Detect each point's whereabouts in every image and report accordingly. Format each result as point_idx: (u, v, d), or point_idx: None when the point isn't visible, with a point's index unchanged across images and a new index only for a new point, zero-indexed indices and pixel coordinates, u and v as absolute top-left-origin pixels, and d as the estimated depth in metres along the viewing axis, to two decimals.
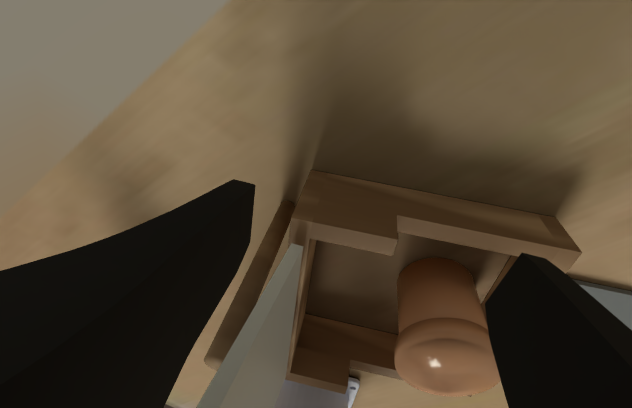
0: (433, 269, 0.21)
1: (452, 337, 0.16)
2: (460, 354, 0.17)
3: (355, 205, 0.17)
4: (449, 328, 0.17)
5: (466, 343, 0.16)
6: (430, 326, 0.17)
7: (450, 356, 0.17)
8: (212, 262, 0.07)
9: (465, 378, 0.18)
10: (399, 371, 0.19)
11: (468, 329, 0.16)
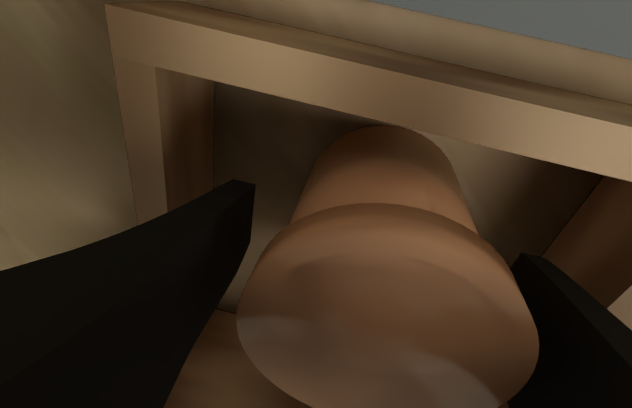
0: None
1: (251, 336, 0.07)
2: (310, 328, 0.06)
3: None
4: None
5: (264, 317, 0.06)
6: None
7: (323, 345, 0.07)
8: (212, 262, 0.07)
9: (427, 324, 0.06)
10: None
11: None
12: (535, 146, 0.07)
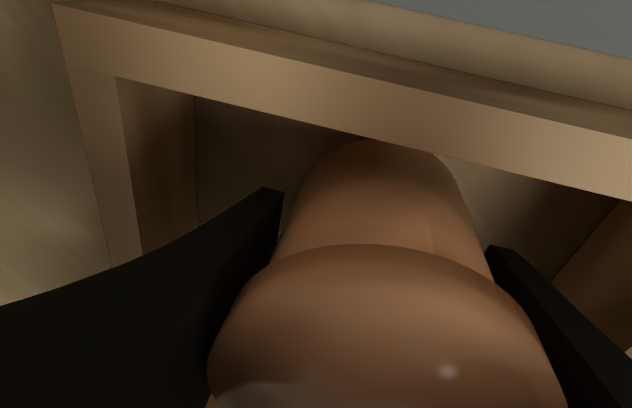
0: None
1: (226, 392, 0.06)
2: (293, 388, 0.05)
3: None
4: None
5: (238, 374, 0.05)
6: None
7: (309, 405, 0.06)
8: (247, 271, 0.07)
9: (432, 390, 0.05)
10: None
11: None
12: (557, 169, 0.06)
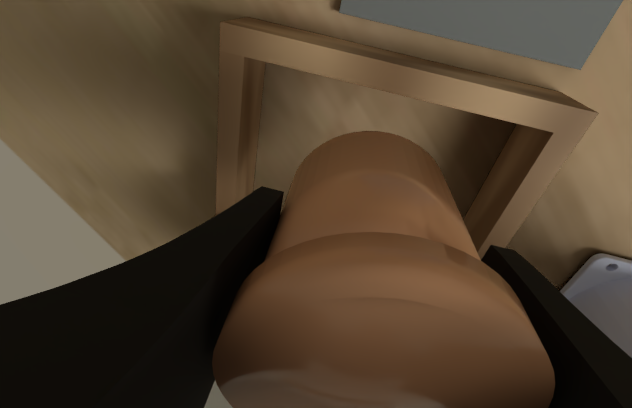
0: None
1: (231, 383, 0.06)
2: (298, 374, 0.06)
3: None
4: None
5: (244, 364, 0.06)
6: None
7: (314, 390, 0.06)
8: (246, 271, 0.07)
9: (430, 367, 0.05)
10: None
11: None
12: (455, 101, 0.12)
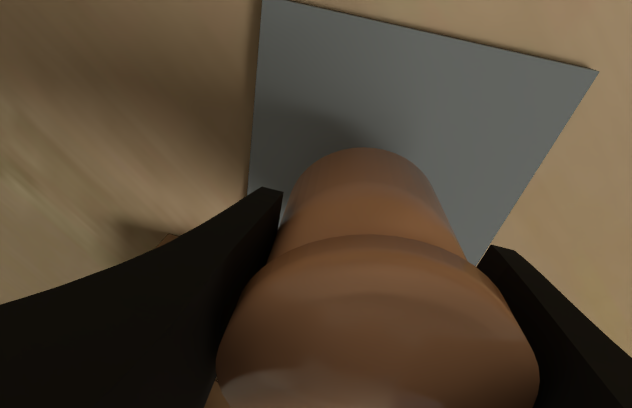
0: None
1: (232, 381, 0.06)
2: (299, 371, 0.06)
3: None
4: None
5: (247, 361, 0.06)
6: None
7: (313, 388, 0.06)
8: (246, 271, 0.07)
9: (425, 363, 0.05)
10: None
11: (225, 333, 0.06)
12: None
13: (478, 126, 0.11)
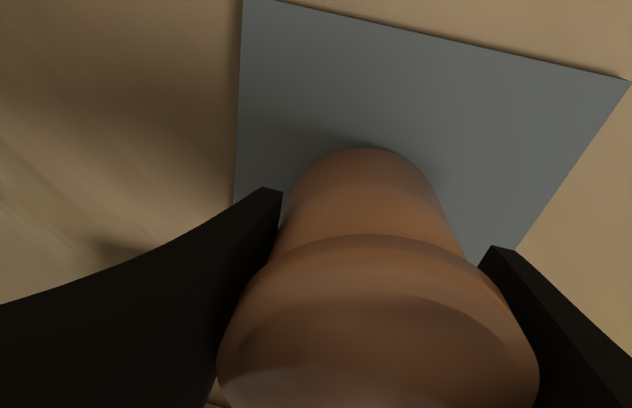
0: None
1: (232, 381, 0.06)
2: (299, 371, 0.06)
3: None
4: None
5: (248, 360, 0.06)
6: None
7: (313, 387, 0.06)
8: (246, 272, 0.07)
9: (426, 362, 0.05)
10: None
11: None
12: None
13: (490, 142, 0.09)
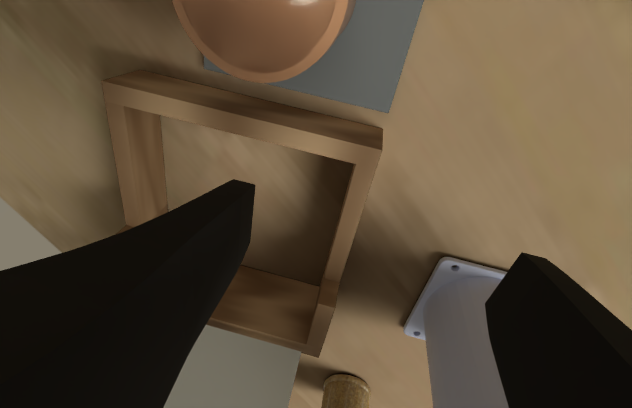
0: None
1: None
2: None
3: None
4: None
5: None
6: None
7: None
8: (211, 262, 0.07)
9: None
10: (286, 74, 0.11)
11: None
12: (280, 140, 0.16)
13: None
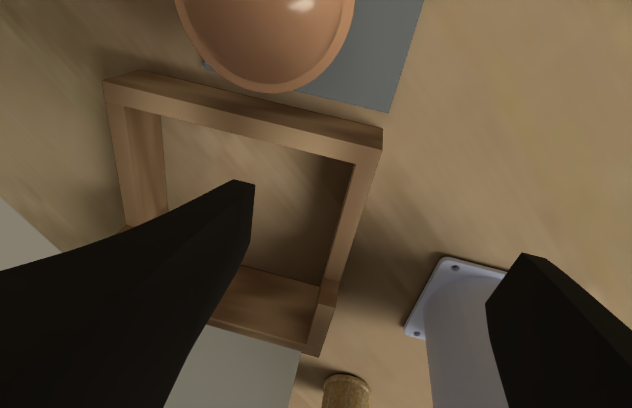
0: None
1: (184, 7, 0.10)
2: None
3: None
4: None
5: None
6: None
7: (229, 0, 0.10)
8: (211, 262, 0.07)
9: None
10: (296, 83, 0.11)
11: None
12: (280, 140, 0.16)
13: None
